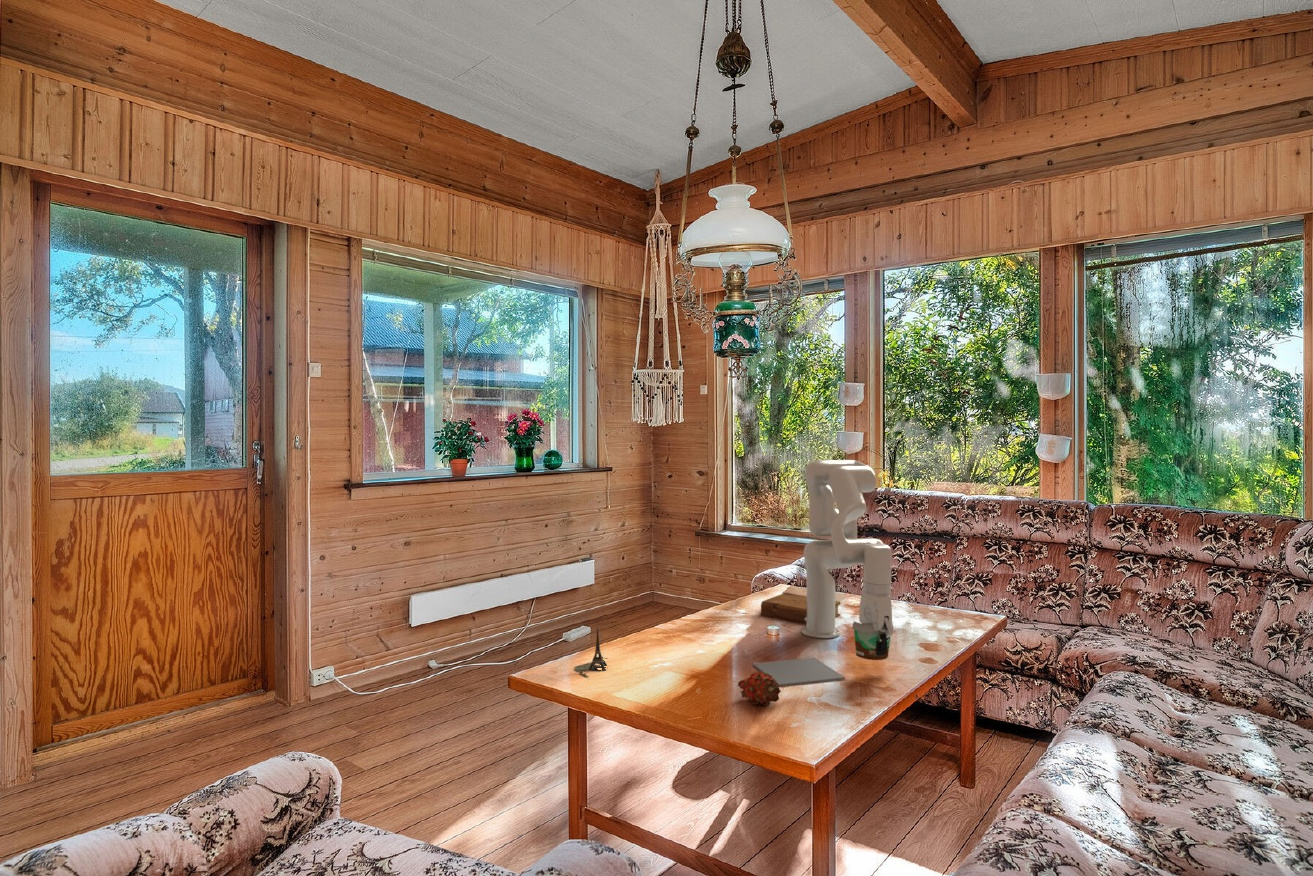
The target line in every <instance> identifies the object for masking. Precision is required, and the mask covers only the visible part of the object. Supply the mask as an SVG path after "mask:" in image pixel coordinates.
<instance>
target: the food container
mask: <svg viewBox="0 0 1313 876" xmlns="http://www.w3.org/2000/svg"><path fill="white" fill-rule="evenodd" d="M891 628H892V631H893V632H894V624H893V622H892V627H891ZM851 629H853V630H854V631H853V632H854V634H853V635H854V646H855V656H856V657H858V658H861V659H863V660H864V659H865V660H868V661H869V660H870V661H882V660H886V659H888V658H889V654H890V653H889V652H890V651H889V650H890V644H891V643H890V642H891V637H890V638H889V640H888V641H887V654H886V655H876V641H878V638H877V633H879V632H878V631H874V630H873V628H872V625H865V624H862V623H861V622H856V621H854V620H853V623H852V627H851ZM884 629H885V627H882V629H881V630H884ZM884 633H885V632H881V636H882V634H884Z"/></svg>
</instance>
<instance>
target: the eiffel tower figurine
mask: <svg viewBox="0 0 1313 876" xmlns="http://www.w3.org/2000/svg"><path fill="white" fill-rule="evenodd" d="M599 630H600V628H599V627H597V628H596V641H595V643H596V645H595V650H594V656H593V658H592V661H590V662H588V663H587V662H586V663H583V664H580V665H577V666H574V667H573V668H572V669H573V670H572V671H574V672H575V673H578V675H579V676H582V677H585V678H589V677H590V676H588V675H587V674H586V673H585V672H586V671H587V672H600V671H601V670H598V669H597V668H602V671H606V672H607V670H606V669H605V668H606V667H604V666H607V665H608V664H607V662H605V661H604V660H603V659H609V658H608V657H606V658H604V656H602V652H601V651H602V650H601V648H600V637H599V635H600V634H599ZM597 655H598V656H597ZM600 665H601V666H600ZM582 673H585V674H582Z"/></svg>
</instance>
